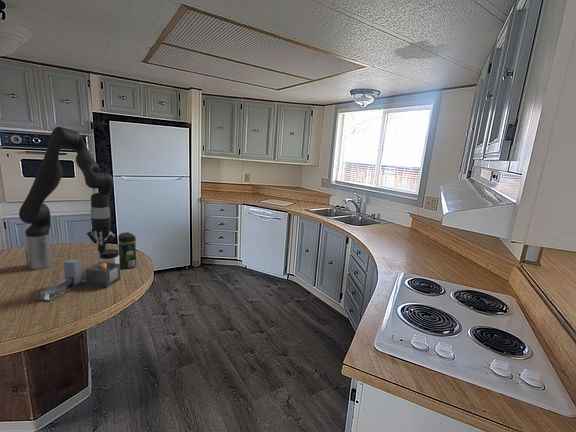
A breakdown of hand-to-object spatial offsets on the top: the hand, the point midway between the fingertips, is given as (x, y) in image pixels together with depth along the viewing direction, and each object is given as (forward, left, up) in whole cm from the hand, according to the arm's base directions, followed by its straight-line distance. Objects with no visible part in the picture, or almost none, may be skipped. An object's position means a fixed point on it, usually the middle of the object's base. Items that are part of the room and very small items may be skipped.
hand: (101, 252), depth 140 cm
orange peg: (0, 0, -15) cm, 15 cm away
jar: (-4, +10, -15) cm, 19 cm away
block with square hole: (0, 0, -15) cm, 15 cm away
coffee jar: (-2, +22, -15) cm, 27 cm away
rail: (-11, -11, -15) cm, 22 cm away
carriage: (-11, -5, -15) cm, 19 cm away
